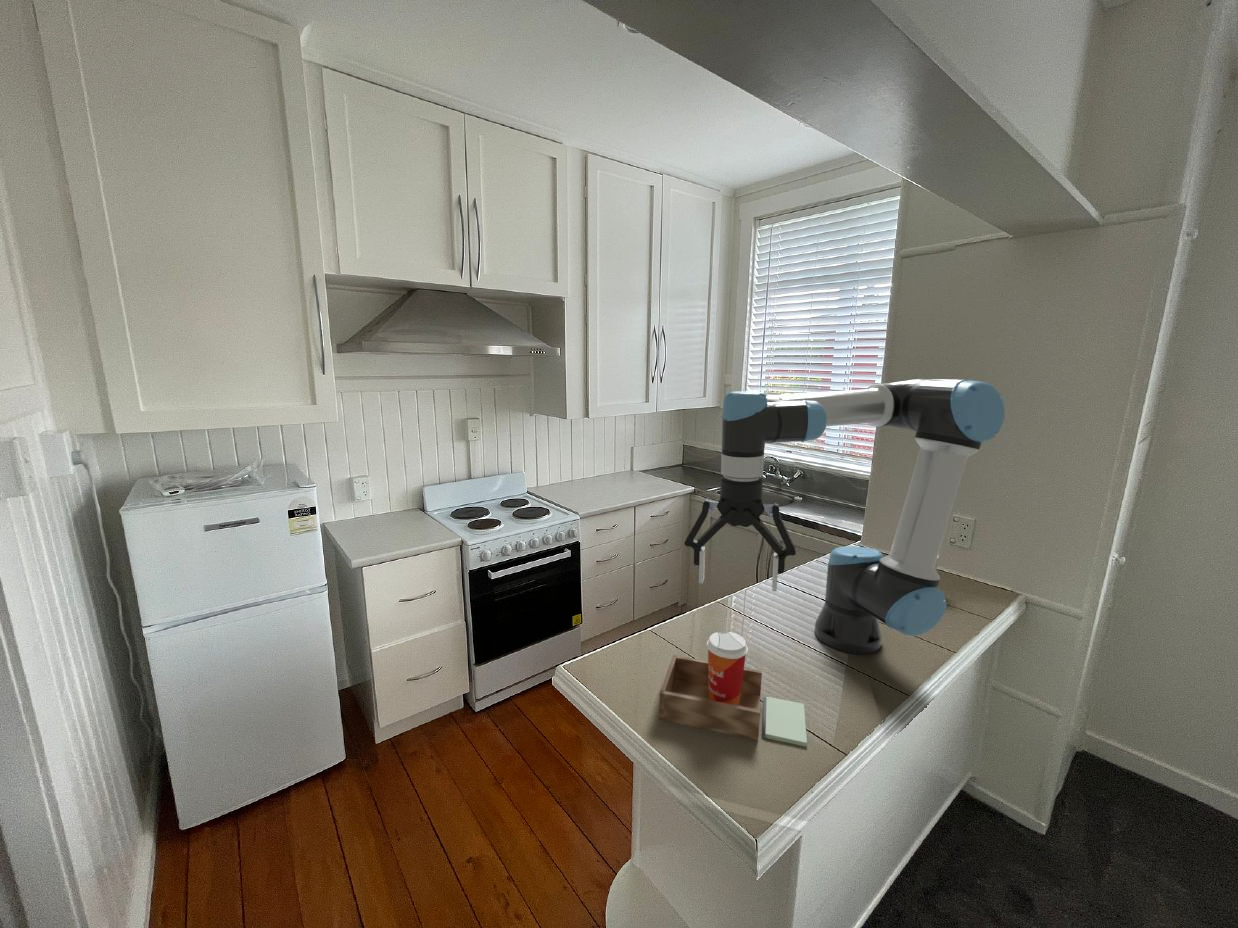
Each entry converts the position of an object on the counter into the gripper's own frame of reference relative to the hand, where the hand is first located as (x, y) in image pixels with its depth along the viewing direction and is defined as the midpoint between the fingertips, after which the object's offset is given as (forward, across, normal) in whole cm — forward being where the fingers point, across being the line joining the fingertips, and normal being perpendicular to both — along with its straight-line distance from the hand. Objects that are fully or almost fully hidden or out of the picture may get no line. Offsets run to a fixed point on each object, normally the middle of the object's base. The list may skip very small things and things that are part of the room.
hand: (737, 584), depth 97 cm
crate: (+25, +4, +5) cm, 26 cm away
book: (+24, -6, +5) cm, 25 cm away
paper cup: (+24, +2, +5) cm, 24 cm away
